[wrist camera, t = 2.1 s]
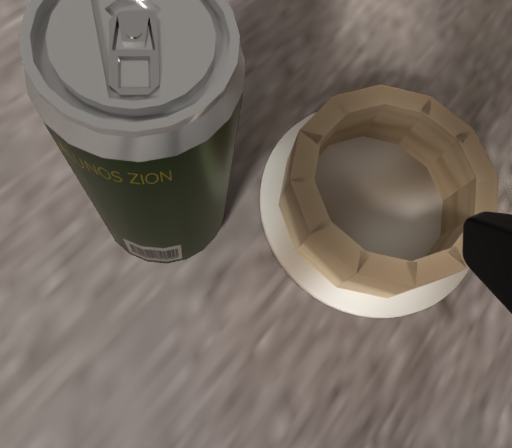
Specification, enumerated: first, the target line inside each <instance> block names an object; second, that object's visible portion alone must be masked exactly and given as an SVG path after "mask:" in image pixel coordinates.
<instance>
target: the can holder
mask: <svg viewBox="0 0 512 448" xmlns="http://www.w3.org/2000/svg"><path fill="white" fill-rule="evenodd" d="M497 203H498V175H497V173H496V171H495V169H494V167H493V165H492V163H491V161H490V159H489V157H488V155H487V153H486V152H485V150H484V148H483V146H482V144H481V142H480V140H479V138H478V136H477V134H476V132H475V130H474V129H473V128H472V127H471V126H469V125H468V124H467V123H465V122H464V121H463V120H462V119H460V118H459V117H458V116H457V115H455V114H454V113H453V112H451V111H450V110H449V109H448V108H446V107H445V106H444V105H442V104H441V103H440V102H439V101H437V100H436V99H435V98H433V97H432V96H429V95H425V94H421V93H416V92H412V91H408V90H404V89H400V88H396V87H392V86H388V85H383V84H379V85H375V86H371V87H367V88H362V89H358V90H354V91H350V92H346V93H342V94H338V95H333V96H332V97H331V98H330V99H329V100H328V101H327V102H326V103H325V104H324V105H323V106H322V107H321V108H320V109H319V110H318V111H317V112H316V113H313V114H311V115H309V116H307V117H306V118H304V119H303V120H301V121H300V122H298V123H297V124H295V125H294V126H293V127H292V128H291V129H290V130H288V131H287V132H286V134H285V135H284V136H283V137H282V138H281V139H280V140H279V142H278V143H277V145H276V146H275V148H274V150H273V151H272V153H271V155H270V157H269V159H268V162H267V164H266V167H265V170H264V174H263V177H262V181H261V188H260V214H261V221H262V225H263V229H264V232H265V236H266V239H267V241H268V243H269V246H270V248H271V250H272V252H273V254H274V255H275V257H276V259H277V260H278V262H279V264H280V265H281V266H282V268H283V269H284V270H285V272H286V273H287V274H288V275H289V277H290V278H291V279H292V280H293V281H294V282H295V283H296V284H297V285H298V286H299V287H301V288H302V289H303V290H304V291H306V292H307V293H308V294H310V295H311V296H312V297H314V298H315V299H317V300H319V301H320V302H322V303H324V304H325V305H327V306H330V307H332V308H334V309H337V310H339V311H341V312H345V313H348V314H352V315H355V316H361V317H368V318H392V317H400V316H404V315H408V314H412V313H415V312H418V311H421V310H423V309H425V308H428V307H430V306H432V305H434V304H435V303H437V302H438V301H440V300H442V299H443V298H445V297H446V296H447V295H448V294H449V293H450V292H451V291H453V290H454V289H455V288H456V286H457V285H458V284H459V283H460V282H461V280H462V279H463V278H464V276H465V275H466V273H467V271H468V270H469V267H468V266H467V264H466V263H465V261H464V258H463V255H462V246H463V224H464V222H465V220H466V219H467V218H469V217H471V216H473V215H476V214H478V213H481V212H485V211H488V212H496V213H497Z"/></svg>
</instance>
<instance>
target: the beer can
mask: <svg viewBox="0 0 512 448" xmlns="http://www.w3.org/2000/svg"><path fill="white" fill-rule="evenodd" d="M19 42H20V49H21V57H22V64H23V66H24V71H25V79H26V86H27V94H28V96H29V97H30V99H31V101H32V103H33V104H34V106H35V108H36V110H37V112H38V113H39V115H40V117H41V119H42V121H43V122H44V124H45V126H46V127H47V129H48V130H49V132H50V134H51V135H52V137H53V139H54V140H55V142H56V144H57V145H58V147H59V149H60V150H61V152H62V154H63V155H64V157H65V159H66V160H67V162H68V163H69V165H70V167H71V168H72V170H73V172H74V173H75V175H76V177H77V178H78V180H79V182H80V183H81V185H82V187H83V188H84V190H85V192H86V193H87V195H88V196H89V198H90V200H91V201H92V203H93V205H94V206H95V208H96V210H97V211H98V213H99V215H100V216H101V218H102V220H103V221H104V223H105V224H106V226H107V228H108V229H109V231H110V233H111V234H112V236H113V238H114V239H115V241H116V242H117V243H118V244H119V245H120V246H121V247H123V248H124V249H125V250H126V251H127V252H128V253H129V254H131V255H134V256H136V257H138V258H141V259H143V260H145V261H148V262H159V263H171V262H176V261H180V260H185V259H188V258H190V257H191V256H193V255H195V254H197V253H198V252H200V251H202V250H203V249H204V248H205V247H206V246H207V245H208V244H209V243H210V242H211V241H212V240H213V239H214V238H215V236H216V235H217V232H218V230H219V228H220V226H221V223H222V221H223V217H224V211H225V205H226V198H227V192H228V186H229V179H230V173H231V166H232V160H233V154H234V147H235V141H236V134H237V128H238V122H239V115H240V109H241V102H242V96H243V89H244V77H245V66H246V62H245V58H244V55H243V51H242V48H241V44H240V34H239V31H238V27H237V24H236V20H235V16H234V13H233V9H232V8H231V7H230V5H229V4H228V2H227V1H226V0H31V1H30V3H29V4H28V6H27V7H26V10H25V14H24V17H23V21H22V25H21V28H20V32H19Z"/></svg>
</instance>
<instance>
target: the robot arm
mask: <svg viewBox="0 0 512 448" xmlns="http://www.w3.org/2000/svg"><path fill="white" fill-rule="evenodd" d="M462 255H463V258H464V261H465V263H466V264H467V266H468V267H469V268H470V269H471V270H472V271H473V272H474V273H475V274H476V276H477V277H478V278H479V279H480V280H481V281H482V282H483V283H484V284H485V285H486V286H487V287H488V289H489V290H490V291H491V292H492V293H493V294H494V295H495V296H496V297H497V298H498V299H499V300H500V302H501V303H502V304H503V305H504V306H505V307H506V308H507V309H508V310H509V311H510V312H511V313H512V215H511V214H503V213H496V212H488V211H485V212H481V213H478V214H476V215H473V216H471V217H469V218H467V219H466V220H465V222H464V224H463V246H462Z"/></svg>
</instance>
